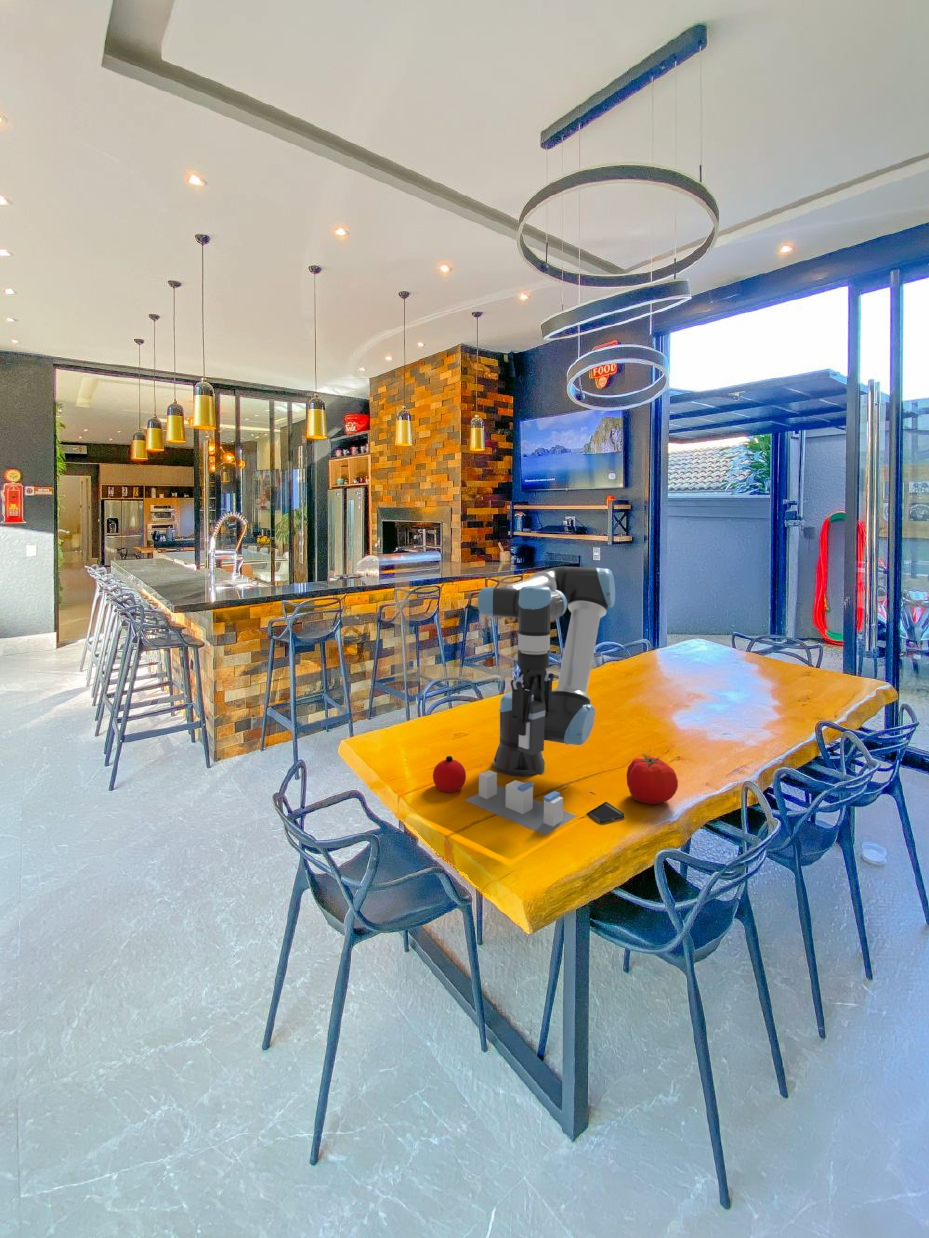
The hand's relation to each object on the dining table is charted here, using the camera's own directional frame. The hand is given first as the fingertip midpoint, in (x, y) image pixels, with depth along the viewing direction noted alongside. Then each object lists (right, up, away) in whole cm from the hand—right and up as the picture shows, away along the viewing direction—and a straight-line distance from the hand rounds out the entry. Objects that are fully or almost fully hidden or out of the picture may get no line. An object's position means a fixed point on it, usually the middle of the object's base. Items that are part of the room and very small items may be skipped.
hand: (531, 744), depth 156 cm
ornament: (-20, -16, +18) cm, 32 cm away
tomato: (+33, -17, +13) cm, 39 cm away
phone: (+17, -19, +8) cm, 27 cm away
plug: (0, -1, 0) cm, 1 cm away
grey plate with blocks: (-2, -18, +7) cm, 20 cm away
